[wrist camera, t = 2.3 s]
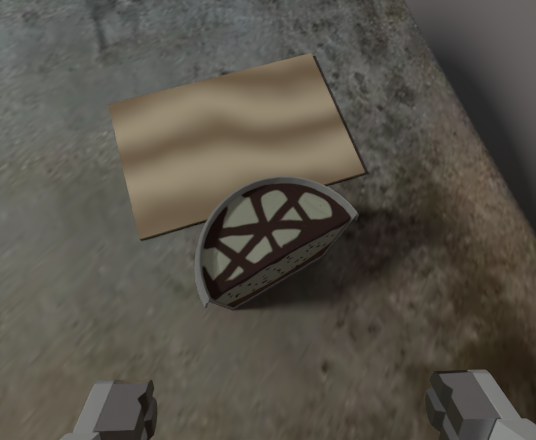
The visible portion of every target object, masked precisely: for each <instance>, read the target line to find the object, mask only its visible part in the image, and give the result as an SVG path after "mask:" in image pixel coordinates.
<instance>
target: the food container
mask: <svg viewBox="0 0 536 440" xmlns="http://www.w3.org/2000/svg"><path fill="white" fill-rule="evenodd" d="M358 216H359V214H358V213H357V211H356V210H355V209H354V208H353V207H352V206H351V204H350V203H349V202H347V201H346V200H345V199H344V198H343V197H342V196H341V195H339V194H338V193H336V192H335V191H333V190H332V189H330V188H329V187H327V186H325V185H322V184H320V183H318V182H315V181H312V180H309V179H306V178H300V177H294V176H277V177H269V178H264V179H261V180H257V181H254V182H251V183H249V184H247V185H244V186H242V187H240V188H239V189H237V190H236V191H234V192H232V193H231V194H230V195H228V196H227V197H226V198H225V199H224V200H223V201H221V202H220V203H219V205H218V206H217V207H216V208H215V209H214V210H213V212H212V213H211V215H210V216H209V218H208V220H207V221H206V223H205V225H204V227H203V230H202V232H201V234H200V237H199V242H198V246H197V250H196V256H195V278H196V285H197V289H198V293H199V296H200V299H201V301H202V303H203V306H204V308H207V305H208V303H209V302H211V303H214V304H216V305H219V306H222V307H224V308H227V309H230V310H234V309H236V308H237V307H239V306H241V305H242V304H244V303H246V302H247V301H249V300H251V299H253V298H254V297H256V296H258V295H259V294H261V293H263V292H264V291H266V290H268V289H269V288H271V287H273V286H274V285H276V284H278V283H279V282H281V281H283V280H285V279H286V278H288V277H290V276H291V275H293V274H295V273H296V272H298V271H300V270H301V269H303V268H305V267H306V266H308V265H310V264H311V263H313V262H315V261H316V260H318V259H320V258H322V257H323V256H324V255H325V253H326V252H327V251H328V250H329V249H330V247H331V246H332V245H333V244H334V243H335V241H336V240H337V239H338V238H339V236H340V235H341V234H342V233H343V232H344V230H345V229H346V228H347V227H348V225H349V224H350V223H351V222H352V221H353V219H354V220H355V221H356V220H357V219H358Z"/></svg>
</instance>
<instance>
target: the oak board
mask: <svg viewBox="0 0 536 440" xmlns="http://www.w3.org/2000/svg"><path fill="white" fill-rule="evenodd" d="M108 105H109V109H110V114H111V118H112V122H113V127H114V131H115V135H116V140H117V144H118V148H119V153H120V157H121V161H122V166H123V170H124V174H125V179H126V183H127V187H128V192H129V196H130V200H131V205H132V209H133V213H134V218H135V222H136V226H137V231H138V235H139V239H140V240H144V239H148V238H151V237H154V236H158V235H161V234H165V233H168V232H171V231H175V230H178V229H181V228H185V227H188V226H191V225H195V224H198V223H202V222H205V221H207V220H208V218H209V216H210V215H211V213H212V212H213V210H214V209H215V208H216V207H217V206H218V205H219V203H220V202H221V201H223V200H224V199H225V198H226V197H227V196H228V195H230V194H231V193H232V192H234V191H236V190H237V189H239V188H240V187H242V186H244V185H247V184H249V183H251V182H254V181H257V180H261V179H264V178H269V177H277V176H294V177H300V178H306V179H309V180H312V181H315V182H318V183H320V184H322V185H325V186H326V185H329V184H333V183H336V182H340V181H343V180H346V179H350V178H353V177H356V176H360V175H363V174H365V171H364V169H363V166H362V164H361V162H360V160H359V158H358V155H357V153H356V151H355V149H354V147H353V144H352V142H351V140H350V138H349V135H348V133H347V131H346V129H345V127H344V124H343V122H342V120H341V118H340V116H339V113H338V111H337V109H336V107H335V104H334V102H333V100H332V98H331V96H330V93H329V91H328V89H327V87H326V85H325V82H324V80H323V78H322V76H321V73H320V71H319V69H318V67H317V65H316V62H315V60H314V58H313V56H312V54H311V53H310V54H306V55H302V56H298V57H294V58H290V59H286V60H282V61H278V62H274V63H270V64H266V65H262V66H258V67H254V68H250V69H246V70H242V71H238V72H234V73H230V74H227V75H223V76H219V77H215V78H211V79H207V80H203V81H199V82H195V83H191V84H187V85H183V86H179V87H175V88H171V89H167V90H163V91H159V92H155V93H151V94H147V95H143V96H139V97H135V98H131V99H127V100H123V101H119V102H115V103H111V104H108Z"/></svg>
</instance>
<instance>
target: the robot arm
mask: <svg viewBox="0 0 536 440" xmlns="http://www.w3.org/2000/svg"><path fill="white" fill-rule="evenodd" d="M429 381H430V383H431V385H432V387H431V388H430V389H429V390H428V391H427V392H426V396H425V408H426V413H427V416H428V419H429V421H430V424H431V426H432V427H434V428H435V429H436V430H437V431H439V432H440V435H439V439H438V440H536V424H534V423H533V422H531V421H530V420H528V419H527V418H521V417H520V416H519V414H518V413H517V412H516V410H515V409H514V407H513V406H512V404H511V403H510V402H509V400H508V399H507V397H506V396H505V394H504V393H503V392H502V390H501V389H500V387H499V386H498V384H497V383H496V382H495V380H494V379H493V377H492V376H491V374H490V373H489V372H488V371H486V370H453V371H434V372H433V373H432V374H431V377H430V380H429ZM153 391H154V385H153V380H98V381H97V382H96V383H95V384H94V386H93V388H92V390H91V392H90V395H89V397H88V399H87V401H86V404H85V406H84V408H83V410H82V413H81V415H80V417H79V419H78V422H77V424H76V426H75V428H74V431H73V433H67V434H66V435H64V436H63V437H62V438H61V439H60V440H149V439H150V438H151V437H152V436H153V435H154V432H155V428H156V422H157V401H156V399H155V398H154V397H153V396H152V395H153Z"/></svg>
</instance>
